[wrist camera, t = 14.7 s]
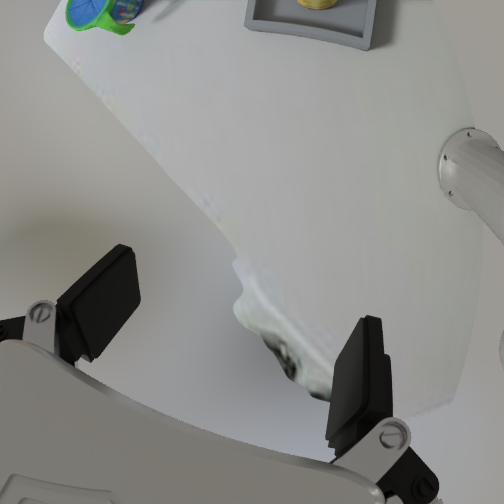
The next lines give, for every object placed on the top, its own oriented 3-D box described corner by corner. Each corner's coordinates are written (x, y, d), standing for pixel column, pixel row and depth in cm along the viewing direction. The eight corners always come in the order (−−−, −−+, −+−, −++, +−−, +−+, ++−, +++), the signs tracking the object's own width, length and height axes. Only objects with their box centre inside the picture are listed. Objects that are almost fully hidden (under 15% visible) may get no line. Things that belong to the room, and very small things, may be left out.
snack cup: (165, 18, 32) (126, 8, 24) (119, 53, 36) (77, 54, 28) (136, -35, 26) (99, -48, 18) (95, 0, 30) (56, -5, 22)
